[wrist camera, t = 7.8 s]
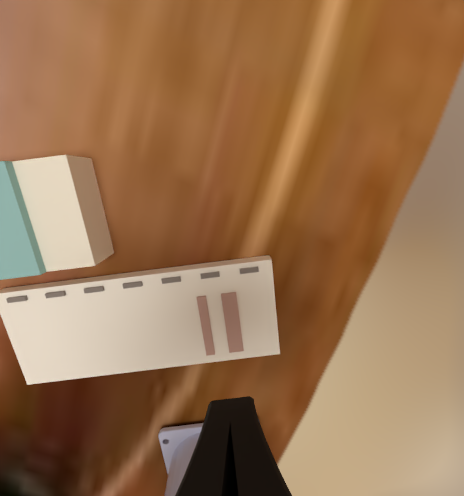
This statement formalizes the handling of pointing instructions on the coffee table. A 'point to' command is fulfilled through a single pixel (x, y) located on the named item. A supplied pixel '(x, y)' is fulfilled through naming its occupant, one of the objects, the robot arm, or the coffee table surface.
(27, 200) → the white and teal box
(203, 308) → the board
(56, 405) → the coffee table surface
